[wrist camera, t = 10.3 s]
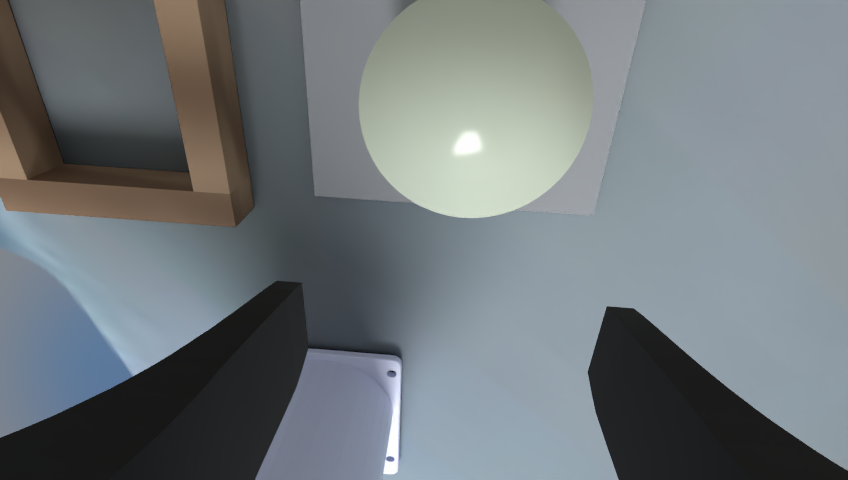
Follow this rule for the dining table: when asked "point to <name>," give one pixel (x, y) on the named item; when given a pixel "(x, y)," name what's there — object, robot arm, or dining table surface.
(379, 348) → the dining table surface
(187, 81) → the frame
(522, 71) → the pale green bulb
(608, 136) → the mat
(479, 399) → the dining table surface
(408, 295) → the dining table surface
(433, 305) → the dining table surface
